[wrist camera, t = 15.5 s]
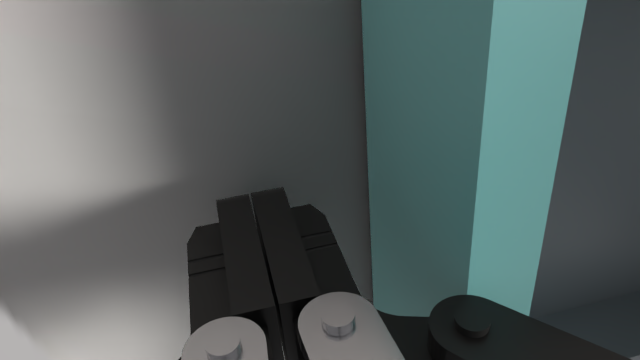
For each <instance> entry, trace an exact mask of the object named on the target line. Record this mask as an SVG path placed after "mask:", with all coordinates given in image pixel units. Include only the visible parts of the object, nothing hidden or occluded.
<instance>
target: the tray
mask: <svg viewBox="0 0 640 360" xmlns="http://www.w3.org/2000/svg"><path fill="white" fill-rule="evenodd" d="M361 8H362V33H363V58H364V82H365V107H366V132H367V157H368V181H369V206H370V231H371V256H372V280H373V305H374V307H375V309H377V310H380V311H382V312H385V313H388V314H392V315H397V316H418V317H429V316H430V313H431V311H432V309H433V308H434V307H435V306H436V304H437V303H439V302H440V301H442V300H444V299H446V298H448V297H451V296H456V295H475V296H480V297H483V298H486V299H489V300H491V301H494V302H496V303H498V304H501V305H503V306H506V307H508V308H510V309H513V310H515V311H517V312H520V313H522V314H525V315H527V316H529V317H532V318H534V319H536V320H539V321H541V322H544V323H546V324H548V325H551V326H553V327H555V328H558V329H560V330H563V331H565V332H567V333H570V334H572V335H574V336H577V337H579V338H582V339H584V340H586V341H589V342H591V343H594V344H596V345H598V346H601V347H603V348H605V349H608V350H610V351H613V352H615V353H617V354H620V355H622V356H624V357H627V358H629V359H632V360H640V0H361Z"/></svg>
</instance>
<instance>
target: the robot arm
mask: <svg viewBox="0 0 640 360" xmlns="http://www.w3.org/2000/svg"><path fill="white" fill-rule="evenodd" d="M251 197H252V203H253V209H254V214H255V219H254V215H253V210H252V206H251V202H250V198H249V194H245V195H240V196H235V197H230V198H225V199H220V200H216V202H217V210H218V217H219V223H214V224H210V225H205V226H200V227H196V229H195V230H194V232H193V234H192V236H191V238H190V239H189V241H188V243H187V253H188V275H189V300H190V324H191V336H190V337H189V338H188V340H187V342H186V343H185V345H184V348H183V350H182V356H181V357H180V359H179V360H284V356H285V360H632V359H629V358H627V357H624V356H622V355H620V354H617V353H615V352H613V351H610V350H608V349H605V348H603V347H601V346H598V345H596V344H594V343H591V342H589V341H586V340H584V339H582V338H579V337H577V336H574V335H572V334H570V333H567V332H565V331H563V330H560V329H558V328H555V327H553V326H551V325H548V324H546V323H544V322H541V321H539V320H536V319H534V318H532V317H529V316H527V315H525V314H522V313H520V312H517V311H515V310H513V309H510V308H508V307H506V306H503V305H501V304H498V303H496V302H494V301H491V300H489V299H486V298H483V297H480V296H475V295H456V296H451V297H448V298H446V299H444V300H442V301H440V302H439V303H437V304H436V306H435V307H434V308H433V309H432V311H431V313H430V316H429V317H418V316H397V315H392V314H388V313H385V312H382V311H380V310H377V309H375V307H374V306H373V305H372V304H371V303H370V302H369V301H368V300H366V299H365V298H363V297H361V295H360V293H359V291H358V289H357V287H356V284H355V282H354V280H353V278H352V275H351V273H350V271H349V269H348V266H347V264H346V262H345V260H344V257H343V255H342V253H341V251H340V248H339V246H338V245H337V242H336V239H335V237H334V235H333V233H332V230H331V228H330V226H329V223H328V221H327V219H326V217H325V215H324V214H323V213H321V212H320V211H319V210H317V209H316V208H315V207H313V206H312V205H311V204H308V205H303V206H298V207H293V208H290V205H289V202H288V200H287V197H286V194H285V191H284V188H283V187H281V188H276V189H271V190H265V191H260V192H255V193H251ZM255 220H256V223H255ZM256 226H257V227H256ZM281 343H282V344H281ZM282 347H283V350H282ZM283 351H284V356H283Z"/></svg>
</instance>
